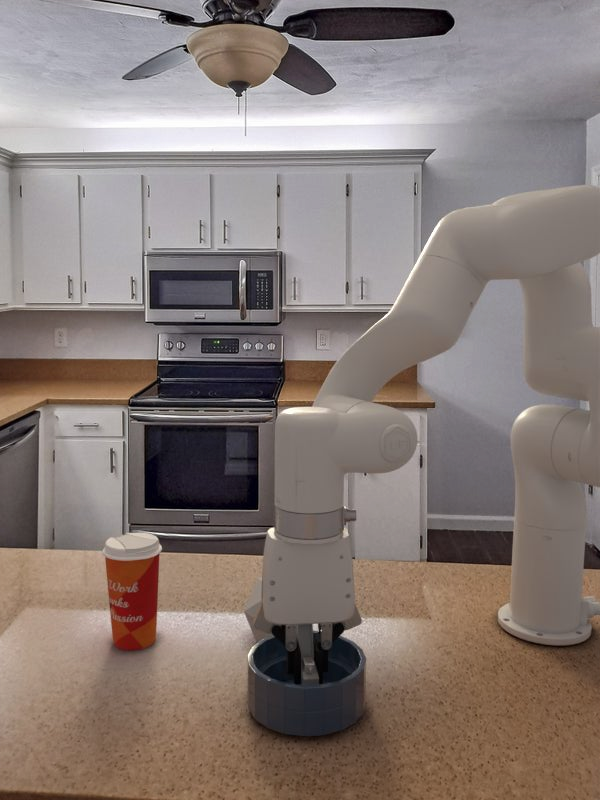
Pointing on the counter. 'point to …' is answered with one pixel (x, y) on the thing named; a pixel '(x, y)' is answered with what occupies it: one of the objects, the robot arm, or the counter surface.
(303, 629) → the lighter
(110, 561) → the paper cup
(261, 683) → the bowl
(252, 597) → the grey polyhedron
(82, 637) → the counter surface
